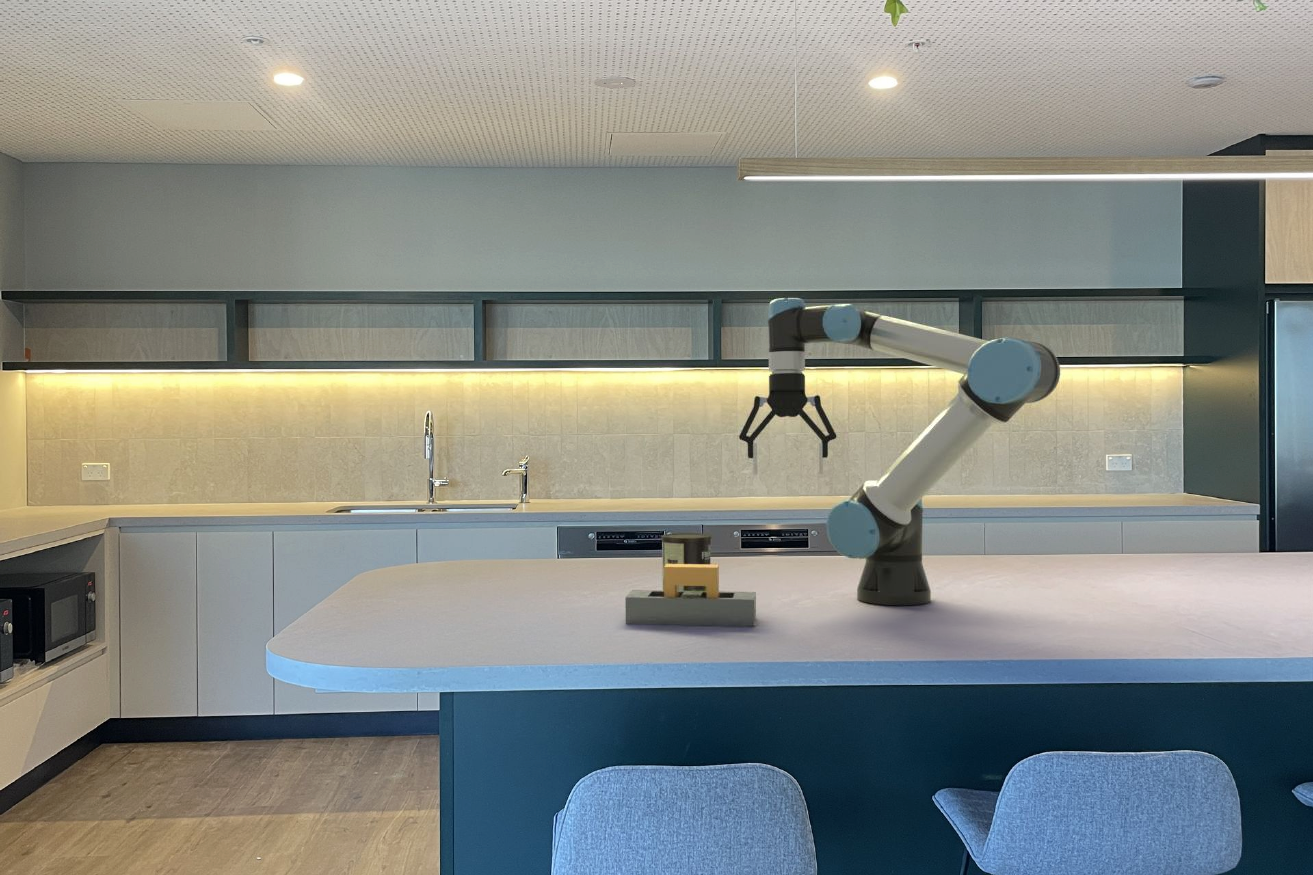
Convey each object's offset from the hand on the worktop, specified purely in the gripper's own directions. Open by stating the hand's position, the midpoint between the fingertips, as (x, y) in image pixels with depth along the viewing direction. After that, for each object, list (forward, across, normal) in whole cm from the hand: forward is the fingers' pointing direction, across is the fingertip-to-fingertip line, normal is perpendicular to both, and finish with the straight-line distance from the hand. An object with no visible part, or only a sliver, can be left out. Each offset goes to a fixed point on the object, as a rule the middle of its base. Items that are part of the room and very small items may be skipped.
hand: (787, 474), depth 225 cm
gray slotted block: (+26, +19, +24) cm, 41 cm away
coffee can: (+27, +21, +5) cm, 35 cm away
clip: (+26, +19, +24) cm, 40 cm away
